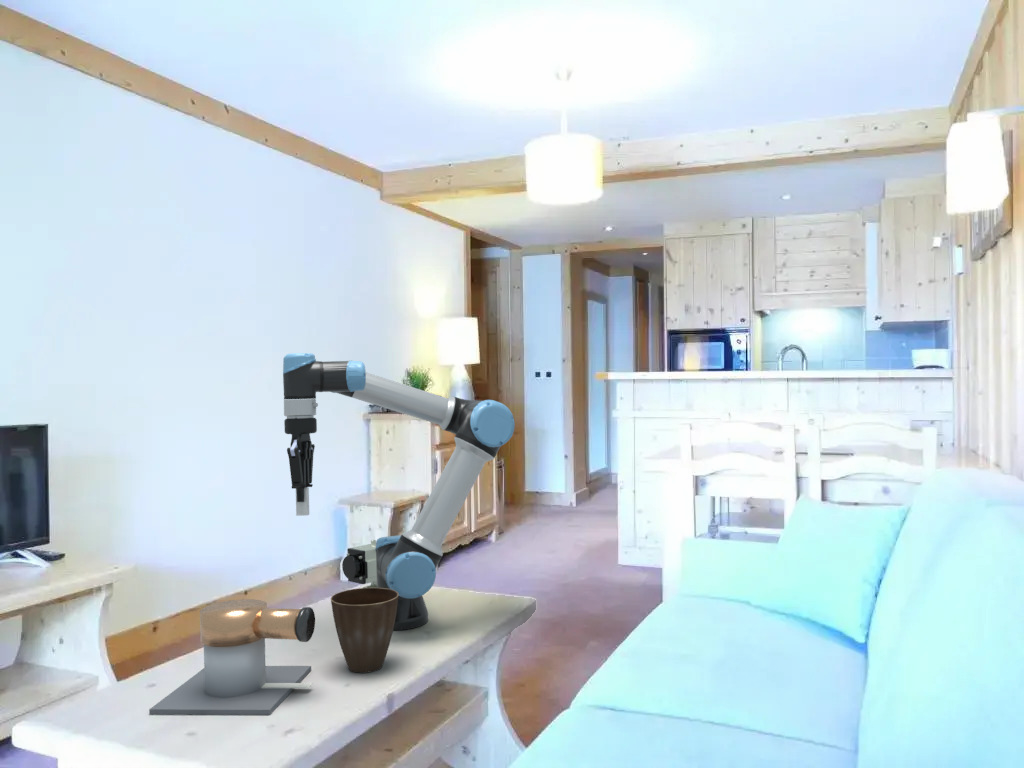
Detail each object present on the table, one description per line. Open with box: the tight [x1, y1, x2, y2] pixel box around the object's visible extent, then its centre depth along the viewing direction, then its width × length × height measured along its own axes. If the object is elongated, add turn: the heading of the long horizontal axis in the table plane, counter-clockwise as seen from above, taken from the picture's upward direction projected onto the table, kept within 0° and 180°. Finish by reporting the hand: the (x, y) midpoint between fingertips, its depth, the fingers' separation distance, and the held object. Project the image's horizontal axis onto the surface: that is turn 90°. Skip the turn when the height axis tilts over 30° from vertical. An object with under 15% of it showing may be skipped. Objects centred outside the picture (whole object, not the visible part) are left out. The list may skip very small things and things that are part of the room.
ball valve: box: [341, 539, 377, 588], centre depth 232 cm, size 18×8×18 cm, turn 138°
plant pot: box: [330, 587, 399, 674], centre depth 175 cm, size 15×15×16 cm
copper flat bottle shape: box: [199, 598, 316, 647], centre depth 162 cm, size 23×13×7 cm, turn 79°
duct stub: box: [148, 638, 314, 716], centre depth 163 cm, size 28×24×11 cm
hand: (302, 514), depth 189 cm, fingers closed
